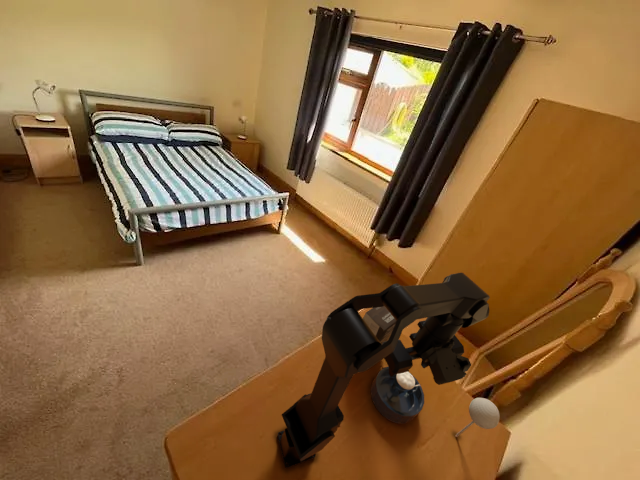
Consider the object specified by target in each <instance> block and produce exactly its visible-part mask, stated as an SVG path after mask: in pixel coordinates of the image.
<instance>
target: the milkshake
mask: <svg viewBox="0 0 640 480" xmlns="http://www.w3.org/2000/svg"><path fill="white" fill-rule="evenodd" d="M410 373H411V372H410V371H408V372H404V373H400V374H397V375H396V377H395V379H394V381H393V382H392V384H391V386H390V388H389V390H388V392H387V397H388V399H389V400H390V401H391V402H395V403H396V402H398V401H399V400H400V399H401V398H402V397H403V396H404V395H405V394H406V393H408V392H409V391H410V390H411V389H412V388H413V387H415V386H419V385H421V386H422V383H419V384H418V385H415V379H414V377H415V376H414V375H413V374H412V373H411V374H412V375H413V376H414V377H413V376H412V375H411V374H410Z"/></svg>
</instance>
